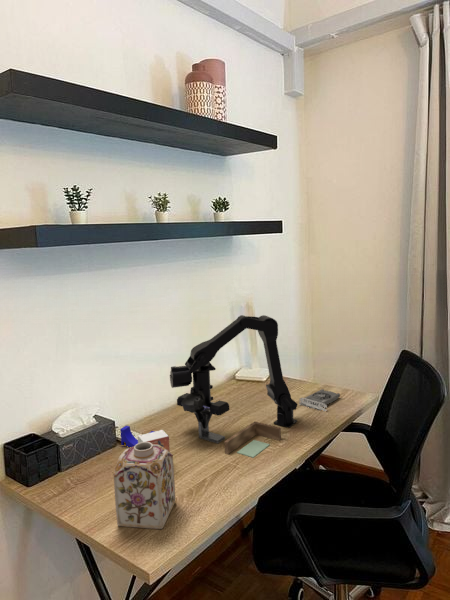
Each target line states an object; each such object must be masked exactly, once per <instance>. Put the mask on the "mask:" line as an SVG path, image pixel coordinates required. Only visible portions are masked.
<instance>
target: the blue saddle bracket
mask: <svg viewBox="0 0 450 600" xmlns="http://www.w3.org/2000/svg"><path fill="white" fill-rule="evenodd" d="M119 432H120V443H121V445H124V442H125V443H126V446H128V447H134V446H135V445H136V444H138V438H136V437H135V436H134V434H133V433H132V430H131V426H129V425H124V426H123V427H122V428H120V431H119ZM152 432H156V431H155V430H154V431H153V430H151V431H150V432H148V433H152ZM121 445H120V446H121ZM128 447H127V448H128Z"/></svg>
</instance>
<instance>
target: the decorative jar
mask: <svg viewBox="0 0 450 600" xmlns="http://www.w3.org/2000/svg"><path fill="white" fill-rule="evenodd" d="M174 469H175V468H174V454H173V453H172V452H169V451H168V450H167V449H165V448H164V447H162V446H160V445H156V444H152V443H150V442H141V443H138V444H136V445H135V446H134V447H131V448H128V447H127V448H125V449H124V450H123V452H121V454H120V455H119V457H118V459H117V462H116V465H115V468H114V472H113V475H112V476H113V486H114V487H113V488H114V499H115V500H114V501H115V504H114V505H115V513H116V523H117V524H116V525H117V527H127V528H138V529H139V528H141V529H152V530H153V529H154V530H155V529H156V530H163V529H164V527H165V525H166V522H167V520H168V518H169V516H170V513H171V511H172V509H173V507H174V506H175V503H176V487H175V486H176V485H175V483H176V482H175V470H174Z"/></svg>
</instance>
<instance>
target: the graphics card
mask: <svg viewBox="0 0 450 600" xmlns="http://www.w3.org/2000/svg"><path fill="white" fill-rule="evenodd" d="M340 397H341V393H339V392H338V393H336V392H333V391H331V390H325V389H324V388H322V389H319V390H318V391H315V392H314V393H311V394H310V395H308V396H305V397H300V398H299V403H298V404H299V406H303V407H307V408H308V407H309V408H308V409H313V410H315V409H317V410H316V411H319V410H320V411H321V410H323V411H322V412H325V411H327V412H328V409H327V408H328V405H330V404H331V403H333V402H334V401H336V400H338V398H340ZM329 403H330V404H329ZM327 404H328V405H327ZM323 407H324V408H323Z"/></svg>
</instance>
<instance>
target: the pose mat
mask: <svg viewBox="0 0 450 600" xmlns="http://www.w3.org/2000/svg"><path fill="white" fill-rule="evenodd" d="M270 446H271V445H270V443H267V442H264V441H259V440H257V439H253V440H252V441H250V442H249V443H248V444H247V445H245V446H244V447H242V448H241V449H239V450H238V451H236V454H238V455H239V454H240V455H243V456H246V457H248V458H249V457H250V458H252V459H254V458H255V457H256V456H258V455H260V453H261V452H263V451H264V450H265V449H267V448H268V447H270Z"/></svg>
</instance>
